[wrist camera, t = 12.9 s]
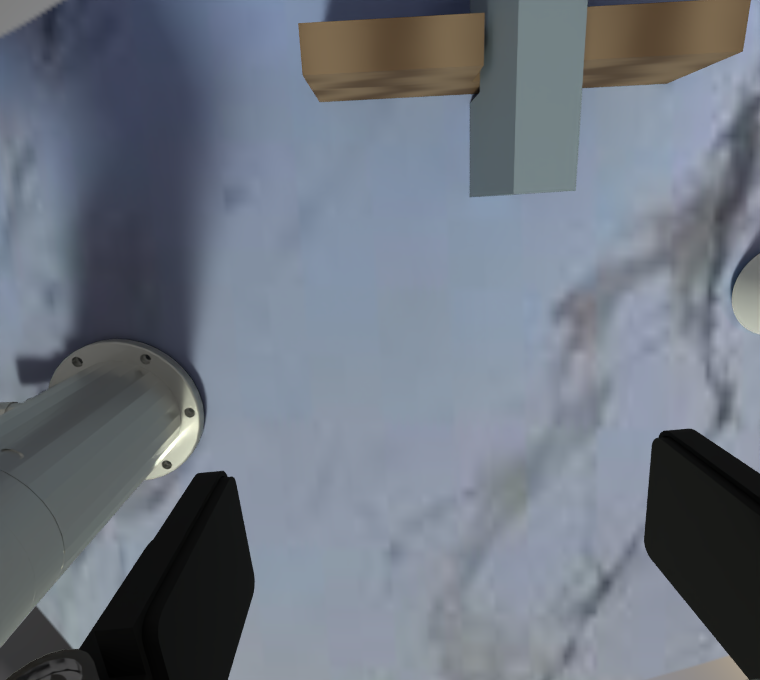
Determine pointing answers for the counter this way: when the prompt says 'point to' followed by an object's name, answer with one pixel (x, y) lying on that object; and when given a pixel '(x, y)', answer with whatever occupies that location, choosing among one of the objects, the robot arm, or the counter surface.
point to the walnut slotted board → (466, 49)
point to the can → (748, 296)
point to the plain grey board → (528, 97)
